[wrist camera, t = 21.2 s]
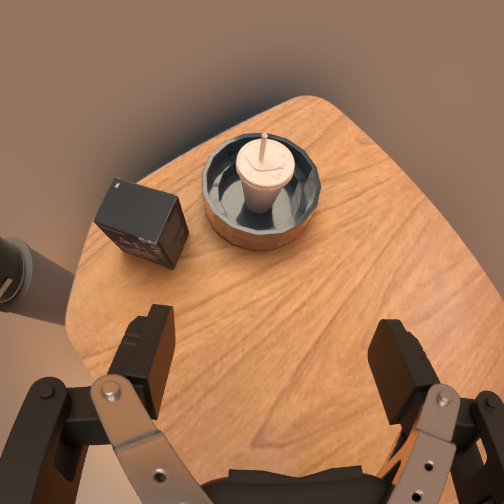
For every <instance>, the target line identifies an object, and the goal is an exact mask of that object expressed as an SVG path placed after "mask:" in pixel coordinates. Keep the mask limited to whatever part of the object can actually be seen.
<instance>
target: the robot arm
mask: <svg viewBox="0 0 504 504" xmlns="http://www.w3.org/2000/svg"><path fill="white" fill-rule="evenodd" d="M25 275H26V262H25V257H24V255H23V253H22V251H21V250H20V249H19V248H18V247H17V246H15V245H14V244H11V243H9V242H8V241H6V240H4V239H3V238H1V237H0V303H7V302H9V301H11V300H13V299H14V298H15V297H16V296H17V294H18V293H19V292H20V290H21V288H22V286H23V283H24V280H25ZM174 350H175V325H174V311H173V306H166V305H157V304H153V305H152V307H151V309H150V311H149V314H148V316H147V317H144V316H138V317H137V318H135V319H134V320H133V321H132V322H131V323H130V324H129V325H128V328H127V330H126V332H125V336H123V339H122V341H121V344H120V345H119V348H118V350H117V352H116V354H115V357H114V359H113V361H112V364H111V366H110V368H109V371H108V373H107V375H104V376H102V377H100V378H98V379H97V380H96V381H95V382H94V383H93V384H92V386H88V387H75V388H66V386H65V385H64V383H63V382H62V381H61V380H60V379H58V378H54V377H44V378H41V379H39V380H37V381H36V382H35V383H33V385H32V386H31V388H30V390H29V392H28V394H27V396H26V398H25V400H24V402H23V405H22V407H21V409H20V411H19V413H18V416H17V418H16V420H15V423H14V425H13V428H12V430H11V432H10V435H9V437H8V440H7V442H6V445H5V448H4V450H3V453H2V455H1V458H0V504H75V501H76V496H77V492H78V487H79V483H80V479H81V474H82V470H83V466H84V462H85V458H86V454H87V450H88V447H89V445H106V444H111V445H112V447H113V450H114V452H115V454H116V456H117V458H118V460H119V462H120V464H121V466H122V468H123V470H124V472H125V474H126V475H127V477H128V479H129V481H130V483H131V485H132V486H133V488H134V490H135V492H136V493H137V495H138V496H139V498H140V500H141V501H142V503H143V504H438V503H439V501H440V498H441V495H442V492H443V489H444V487H445V484H446V481H447V478H448V474H449V471H450V472H451V475H452V479H453V483H454V486H455V490H456V494H457V498H458V502H459V504H504V404H503V402H502V400H501V399H500V398H499V396H498V395H496V394H495V393H493V392H491V391H482V392H480V393H479V394H478V396H477V397H476V398H475V400H474V399H467V398H460V397H459V395H458V393H457V392H456V391H455V390H454V389H453V388H452V387H450V386H448V385H446V384H441V383H440V381H439V379H438V377H437V375H436V373H435V371H434V369H433V367H432V365H431V363H430V361H429V359H428V358H427V356H426V354H425V352H424V351H423V348H422V346H421V345H420V343H419V341H418V339H417V338H415V337H414V336H413V335H412V334H411V333H410V332H406V330H405V328H404V326H403V324H402V323H401V321H400V320H398V319H382V320H380V322H379V324H378V326H377V329H376V331H375V334H374V336H373V339H372V341H371V343H370V346H369V349H368V362H369V365H370V368H371V371H372V374H373V377H374V379H375V382H376V385H377V388H378V391H379V394H380V397H381V400H382V403H383V406H384V409H385V412H386V415H387V418H388V421H389V424H390V425H394V424H401V427H402V428H401V429H400V431H399V432H398V434H397V437H396V439H395V441H394V443H393V445H392V448H391V450H390V452H389V454H388V456H387V458H386V460H385V462H384V464H383V466H382V467H381V469H380V470H379V472H378V473H377V475H376V476H373V475H369V474H365V473H363V472H362V468H361V465H359V466H351V467H341V468H331V469H328V470H324V471H321V472H318V473H315V474H311V475H308V476H304V477H299V478H297V477H291V476H286V475H281V474H276V473H272V472H267V471H257V470H234V469H229V476H228V477H224V478H219V479H215V480H212V481H209V482H206V483H204V484H202V485H199V484H198V483H197V481H196V480H195V479H194V477H193V476H192V475H191V473H190V472H189V470H188V469H187V468H186V466H185V465H184V463H183V462H182V460H181V459H180V458H179V456H178V455H177V453H176V452H175V450H174V449H173V447H172V446H171V444H170V443H169V441H168V440H167V438H166V437H165V435H164V434H163V432H162V431H160V430H158V429H157V428H156V426H155V425H154V423H153V421H152V420H151V419H153V420H157V419H158V414H159V410H160V406H161V402H162V398H163V394H164V390H165V386H166V382H167V378H168V374H169V370H170V366H171V362H172V358H173V354H174ZM480 438H481V440H482V443H483V445H484V448H485V451H486V454H487V461H486V463H485V465H484V464H483V461H482V458H481V455H480V452H479V450H478V447H477V444H476V442H477V441H478V440H479V439H480Z"/></svg>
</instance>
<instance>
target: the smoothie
mask: <svg viewBox="0 0 504 504" xmlns="http://www.w3.org/2000/svg"><path fill="white" fill-rule="evenodd" d="M267 136H268V135H267V133H263V134H262V138H261V139H257V140H253V141H251V142H249V143H247V144H245V145H244V146H243V147H242V148H241V149H240V151H239V153H238V155H237V161H236V169H237V173H238V175H239V177H240V178H241V182H242V188H243V193H244V199H245V204H246V206H247V208H248V209H249V210H250V211H251V212H254V213H257V214H261V213H265V212H267V211H268V210H269V209H270V208H271V207H272V205H273V203H274V201H275V200H276V198H277V196H278V195H279V193H280V191H281V190H282V188H283V186H285V185H286V184H287V183H288V182H289V181H290V180H291V178H292V176H293V173H294V167H295V162H294V158H293V155H292V153H291V152H290V151H289V149H288V148H287V147H285V146H284V145H283V144H281V143H279V142H277V141H274V140H270V139H267Z"/></svg>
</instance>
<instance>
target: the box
mask: <svg viewBox="0 0 504 504" xmlns="http://www.w3.org/2000/svg"><path fill="white" fill-rule="evenodd" d="M94 223H96V225H97V226H98V227H99V228H100V229H101V230H102V231H103V232H104V233H105V234H106V235H107V236H108V237H109V238H110V239H111V240H112V241H113V242H114V243H115V244H116V245H117V246H118V247H119V248H120V249H121V250H122V251H124V252H127V253H130V254H132V255H135V256H138V257H140V258H143V259H146V260H148V261H151V262H154V263H157V264H160V265H162V266H165V267H167V268H170V269H174V268H175V265H176V262H177V260H178V258H179V255H180V253H181V250H182V248H183V245H184V243H185V241H186V238H187V236H188V233H189V231H188V228H187V225H186V221H185V218H184V215H183V212H182V208H181V205H180V202H179V198H178V196H177V195H176V194H170V193H167V192H163V191H159V190H156V189H152V188H149V187H145V186H142V185H138V184H135V183H132V182H128V181H125V180H122V179H119V178H114V180H113V182H112V184H111V186H110V188H109V190H108V192H107V193H106V195H105V197H104V199H103V201H102V203H101V205H100V207H99V209H98V211H97V214H96V216H95V218H94Z"/></svg>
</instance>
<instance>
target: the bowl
mask: <svg viewBox="0 0 504 504" xmlns="http://www.w3.org/2000/svg"><path fill="white" fill-rule="evenodd" d="M262 134H263V133H253V134H243V135H240V136H238V137H235V138H233V139H230V140H227V141H225V142H224V143H223V144H222V145H220V146H219V147H218V148H217V149H216V150H215V151H214V152H213V153H212V154H211V155H210V156H209V158H208V161H207V163H206V165H205V167H204V170H203V172H202V189H203V198H204V204H205V210H206V214H207V216H208V218H209V220H210V221H211V223H212V225H213V227H214V229H215V230H216V232H218V233H219V234H220V235H222V236H223V237H224V238H225V239H227V240H228V241H229V242H230V243H232V244H234V245H237V246H241V247H244V248H247V249H251V250H265V249H276V248H278V247H280V246H282V245H284V244H286V243H288V242H290V241H292V240H294V239H295V238H296V237H297V236H298V234H299V233H300V232H301V231H302V229H303V228H304V227H305V226H306V224H307V223H308V221H309V219H310V217H311V216H312V214H313V212H314V210H315V209H316V207H317V203H318V199H319V194H320V190H321V184H320V180H319V175H318V171H317V167H316V166H315V164H314V163H313V162H312V160H311V159H310V157H309V156H308V155H307V153H306V152H305V151H304V150H303V149H301V148H300V147H299V146H297V145H296V144H294V143H293V142H291V141H290V140H288V139H286V138H282V137H279V136H275V135H272V134H268V133H267V135H268V136H267V139H270V140H274V141H277V142H279V143H281V144H283V145H284V146H285V147H287V148H288V149H289V151H290V152H291V153H292V155H293V158H294V162H295V167H294V173H293V176H292V178H291V180H290V181H289V182H288V183H287V184H286V185H285V186H283V188H282V190H281V191H280V193H279V195H278V196H277V198H276V200H275V201H274V203H273V205H272V207H271V208H270V209H269V210H268V211H267V212H265V213H261V214H257V213H254V212H251V211H250V210H249V209H248V208H247V206H246V204H245V199H244V193H243V188H242V182H241V178H240V177H239V175H238V173H237V169H236V161H237V155H238V153H239V151H240V149H241V148H242V147H243V146H244V145H245V144H247V143H249V142H251V141H253V140H257V139H261V138H262Z"/></svg>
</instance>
